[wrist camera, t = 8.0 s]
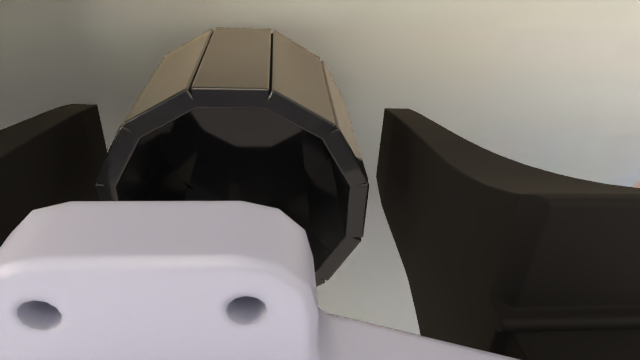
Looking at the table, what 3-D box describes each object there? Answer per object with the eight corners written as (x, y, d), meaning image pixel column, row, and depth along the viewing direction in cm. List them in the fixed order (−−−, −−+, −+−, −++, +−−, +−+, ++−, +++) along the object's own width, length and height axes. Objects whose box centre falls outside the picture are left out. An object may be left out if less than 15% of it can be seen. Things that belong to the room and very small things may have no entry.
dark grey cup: (347, 22, 13) (380, 90, 9) (334, 192, 16) (355, 305, 11) (138, 16, 12) (70, 85, 8) (163, 193, 15) (122, 309, 11)
